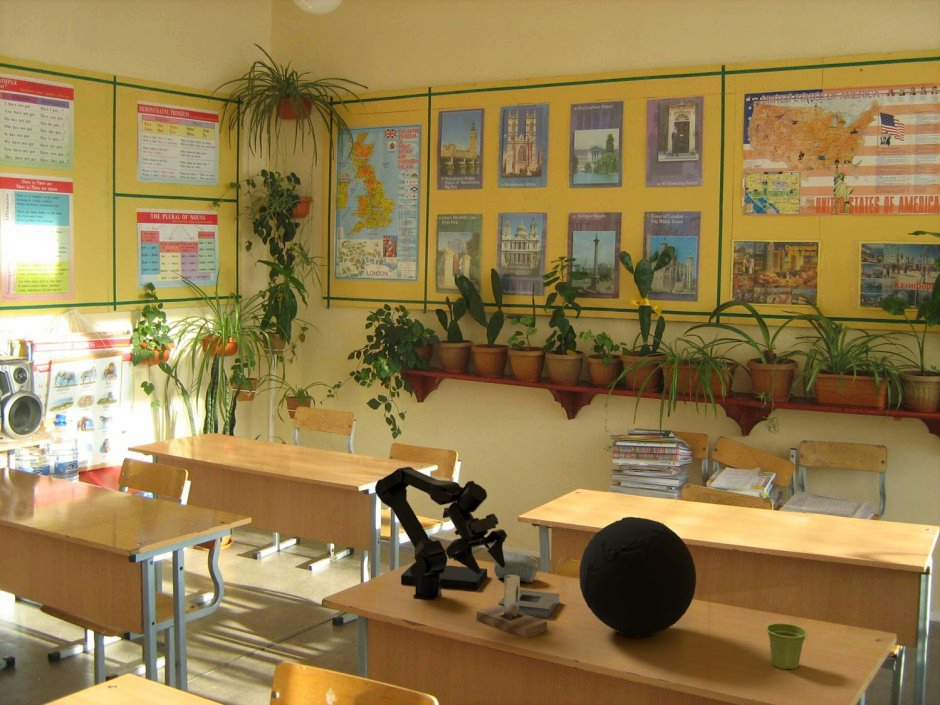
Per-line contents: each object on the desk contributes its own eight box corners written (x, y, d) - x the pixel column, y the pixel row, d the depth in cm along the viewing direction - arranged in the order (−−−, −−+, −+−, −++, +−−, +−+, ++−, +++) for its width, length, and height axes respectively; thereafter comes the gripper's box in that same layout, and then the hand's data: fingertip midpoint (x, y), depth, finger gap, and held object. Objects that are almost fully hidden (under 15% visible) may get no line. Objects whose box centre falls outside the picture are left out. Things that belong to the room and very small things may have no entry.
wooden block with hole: (476, 620, 274) (476, 610, 274) (497, 613, 279) (497, 604, 279) (525, 637, 261) (526, 628, 261) (546, 630, 266) (547, 621, 266)
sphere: (697, 621, 276) (701, 511, 274) (690, 660, 247) (694, 538, 245) (588, 609, 284) (590, 502, 282) (569, 646, 255) (571, 527, 253)
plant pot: (812, 665, 246) (813, 629, 245) (795, 676, 239) (796, 639, 238) (775, 654, 252) (776, 620, 251) (757, 665, 245) (759, 629, 244)
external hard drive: (414, 571, 319) (414, 562, 318) (487, 578, 313) (487, 568, 313) (401, 585, 305) (401, 575, 305) (477, 591, 300) (477, 581, 299)
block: (498, 612, 280) (498, 603, 280) (511, 597, 294) (511, 588, 294) (548, 617, 276) (548, 608, 276) (559, 602, 290) (559, 593, 290)
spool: (484, 569, 310) (499, 539, 311) (496, 576, 317) (511, 547, 319) (520, 588, 302) (535, 558, 304) (532, 595, 310) (547, 565, 312)
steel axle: (501, 626, 269) (502, 578, 268) (505, 622, 273) (506, 574, 272) (516, 628, 268) (517, 579, 267) (520, 623, 271) (521, 575, 270)
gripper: (453, 510, 271) (482, 559, 264) (503, 500, 284) (531, 547, 276) (433, 533, 277) (461, 583, 270) (482, 523, 290) (510, 569, 283)
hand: (492, 570), depth 274 cm, fingers open, 9 cm apart
